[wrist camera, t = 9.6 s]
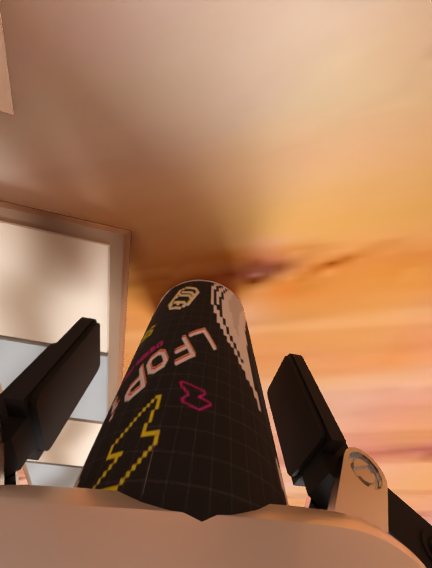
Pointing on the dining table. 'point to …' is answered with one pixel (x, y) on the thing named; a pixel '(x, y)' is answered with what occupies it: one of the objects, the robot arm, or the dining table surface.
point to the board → (62, 316)
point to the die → (4, 77)
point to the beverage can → (190, 414)
